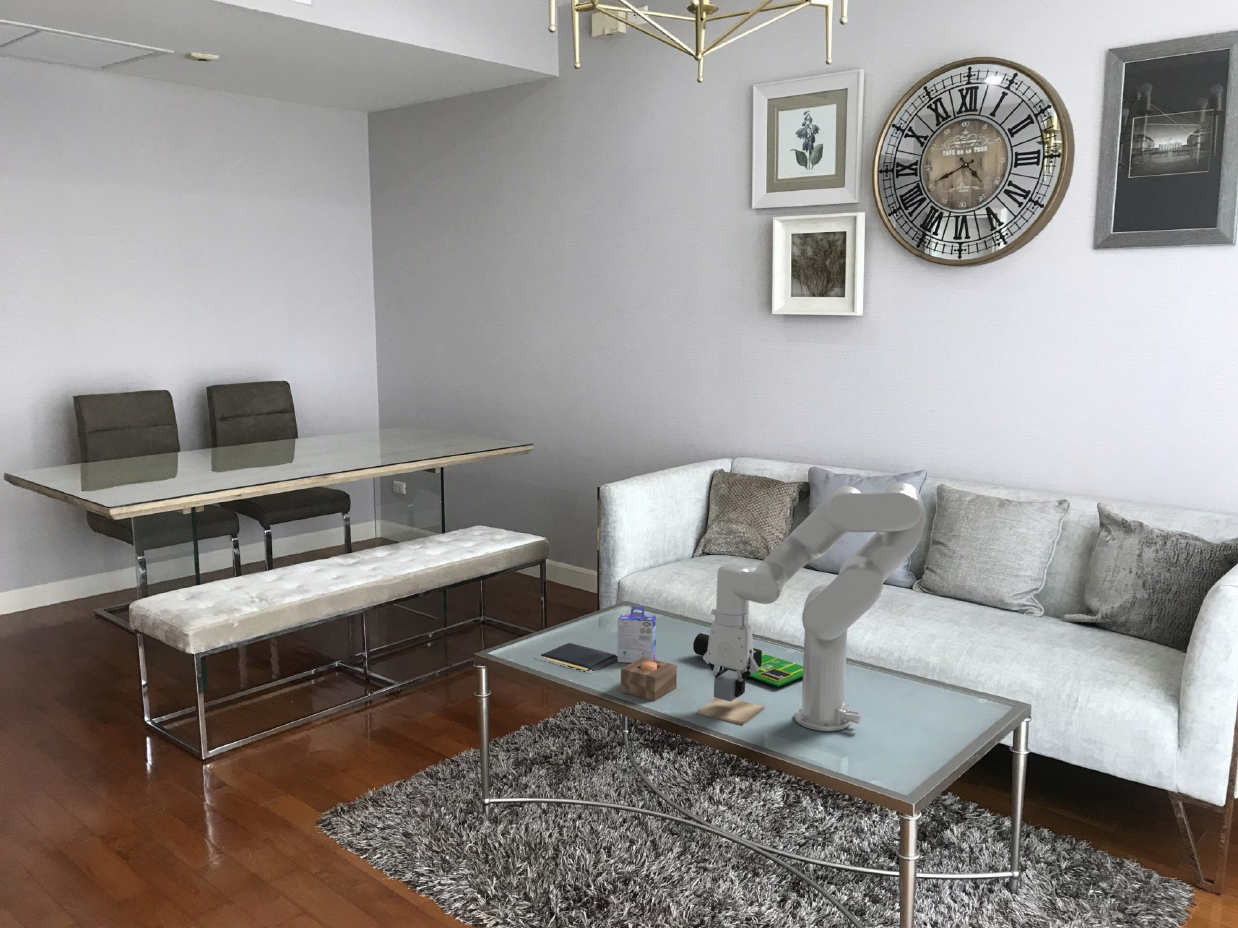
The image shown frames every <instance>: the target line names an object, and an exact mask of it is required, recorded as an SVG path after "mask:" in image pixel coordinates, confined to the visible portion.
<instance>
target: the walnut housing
mask: <svg viewBox="0 0 1238 928" xmlns="http://www.w3.org/2000/svg"><path fill="white" fill-rule="evenodd" d="M643 662H654V663H656V664H657V669H656V670H654V671H652V672H651V671H647V670H642V669H641V663H643ZM677 667H678V666H677V664H673V663H670V662H665V661H661V660H657V659H655V660H653V659H649V658H644V657H642V658H641V659H639V660H637V661H635V662H633V663H629V664H627V665H625V666H624V667H622V668H620V692H621V693H623V692H624V693H623V694H626V693H629V694H628V695H630V694H633V695H632V696H634V695H635V697H638V696H639V697H638V698H642V697H644V698H643V699H646V698H647V700H649V699H650V701H654V702H656V701H658V700H659V699H661V698H662V697H665V695H667V694H669V693H671V692H672V691H674V690H676V689H677V688H678V687H677V676H678V675H677V669H678V668H677Z"/></svg>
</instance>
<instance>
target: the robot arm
mask: <svg viewBox="0 0 1238 928" xmlns="http://www.w3.org/2000/svg"><path fill="white" fill-rule="evenodd" d="M924 506H925V505H924V503H923V498H922V496H921V495H920V492H919V490H917V488H916V487H915V486H913V485H912V484H909V483H906V482H897V483H894V484H892V485H890V486H888V487H887V488H886V489H885V491H884V492H882V491H881V492H861V491H860V490H859V489H857V488H856V487H854V486H848V485H846V486H845V485H844V486H841V487H838V488H837V489H835V490H834V491H832V492H831V493H830V495H828V496H827V497H826V499H824V500H823V502H821V503H820V504H819V506H817V507H816V508H815V509H814V510H813V511H812V512H811V513H810V514H809V515H808V516H807V517H806V518H805V519H804V520H803V521H802V522H801V523H800V524H798V526H797V527H795V529H793V531H792V532H791V533H790V534H789V535H788V536H787V537H786V538H785V539H784V540H783V541H782V542H781V543H780V544H778V546H776V548H774V549H773V550H772V552H770V553H769V555H767V556H766V557H765V558H764V559H763V560H762V561H761V562H760V564H758V566H757V567H756V568H755V569H754V571H750V569H749V568H748V567H747V566H744V565H742V564H736V563H728V564H723V565H721V566H719V568H718V570H717V575H716V603H715V604H716V606H715V608H713V609H711V615H712V616H714V617H715V618H714V619H715V620H713V621H712V622H711V626H710V630H709V641H708V651H707V652H706V653H705V655H704V656H702V659H703V661H705V663H706V664H707V665H708V667H709V668H710V669H711V671H712V674H713V675H714V679H715V678H716V677H718V676H720V675H721V674H723V673H725V672H724V669H726V668H730V669H735V670H736V672H737V678H738V680H737V681H736V685H735V697H737V698H739V697H741V696H742V695H743V694H744V692H745V693H746V679H747V678H749V677H748V676H750V675H751V674H753V673H755V672H757V671H758V670H759V667H758V665H757V663H756V662H755V660H754V658H753V648H754V639H753V631H752V627H751V624H749V617H750V616H749V612H750V610H749V609H750V601H751V602H753V603H757V604H763V605H768V604H773V603H774V602H776V601H777V600H779V598H780V596H781V594H782V592H783V588H784V587H785V585H786V584H787V583H788V582H789V581H790V580H791V579H793V577H794V576H795V575H796V574H797V573H798V572H799V571H800V570H802V568H803V567H805V566H806V565H807V564H809V563H810V562H812V561H814V560H817V559H819V558H822V557H823V556H824V555H826V554H827V552H828V551H830V549H832V548H833V547H834V546H835V545H836V544H838V542H839V541H840V540H841V539H842V538H843V537H844V536H845V535H846V534H847V533H875V534H874V535H873V536H872V537H871V538H870V539H869V540H868V541H866V543H865V544H864V545H862V546H861V547H860V548H859V549H858V550H857V551H856V552H855V553H853V555H851V556H850V557H849V558H848V559H847V560H845V561H844V563H842V565H841V567H840V569H839V572H838V575H837V576H836V577H835V578H834V579H833V580H832V581H831V582H830V583H829V584H821V585H818V586H816V587H814V588H813V589H812V590H811V591H810V592H809V593H808V595H807V597H806V599H805V601H804V605H803V609H802V614H801V615H802V616H801V621H802V626H803V629H804V634H803V636H804V637H803V658H802V659H803V664H802V666H803V677H802V692H801V693H802V695H801V696H802V698H801V700H802V701H801V707H800V708H798V709H797V710H795V713H794V719H795V721H796V722H797V724H799V725H801V726H802V727H805V728H808V729H810V730H815V731H821V732H835V731H842V730H844V729H846V728H848V727H849V726H850V725H851V724H852V723H853V724H858V725H860V724H861V722H862V715H861V713H860V711H858V710H852V709H850V708H849V704H850V703H849V702H848V701H845V700H846V699H845V697H846V674H847V673H846V672H847V671H846V668H847V650H848V630H849V628H850V627H852V625H853V624H855V623H856V622H857V621H858V620H859V619H860V618H861V617H862V616H864V614H866V613H867V612H868V611H869V610H870V609H871V608H872V607H873V606H874V605H875V603H876V602H877V601H878V600H879V598H880V596H881V594H882V592H883V589H884V587H883V586H884V582H885V581H886V580H887V579H888V578H889V577H890V576H891V575H892V574H893V573H894V572H895V571H896V570H897V569H898V568H899V567H900V566H901V565H902V564H903V563H904V562H905V561H906V560H907V559H908V558H909V557H910V556H911V555H912V553H913V552H914V550H915V549H916V548H917V546H918V545H919V543H920V541H921V539H922V536H923V532H924V528H925V523H926V512H925V507H924ZM747 666H750V669H749V670H747V669H746V667H747ZM724 667H726V668H724Z"/></svg>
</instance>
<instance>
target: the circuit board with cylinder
mask: <svg viewBox="0 0 1238 928" xmlns="http://www.w3.org/2000/svg"><path fill="white" fill-rule="evenodd" d="M709 635H710V633H705V632H700V633H698V634H697V635H696V636H695V638H694V640H693V644H692V645H693V646H692V647H693V651H694V653H695V655H698V656H702V657H703V656H704V655H705V653H706V652H707V651H708V641H709ZM753 658H754V660H755V662H756V663H757V665H758V667H759V670H758V671H757V672H755V673H753V674H751V675H750V676H748V677H747V678H749V677H750V678H753V679H755V680H759V681H761V682H764V683H767V684H770V685H773V686H776V687H780V686H783V685H787V683H790V682H793V681H795V680H798V679H800V678H803V665H800V664H797V663H795V662H792V661H788V660H785V659H782V658H779V657H776V656H772V655H769V654H766V653H763V650H762V649H759V648H756V647H753ZM723 669H725V670H731V671H735V672H736V670H735V669H730V668H726V667H724V668H723ZM746 669H747V670H749V669H750V666H747V667H746Z"/></svg>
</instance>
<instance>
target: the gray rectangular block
mask: <svg viewBox="0 0 1238 928" xmlns="http://www.w3.org/2000/svg"><path fill="white" fill-rule="evenodd" d="M737 680H738V678H737V672H735V671H731V670H729V669H727V670H726V671H725V672H724V673H723V674H721V675H720V676H718V677H716V678H715V677H714V681H713V698H714V699H715V698H719V699H722V700H726V701H730V702H731V701H733V700H734V699H736V700H737V699H738V697H735V685H736V681H737ZM744 693H746V691H745V692H744ZM744 693H743V694H744Z"/></svg>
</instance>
